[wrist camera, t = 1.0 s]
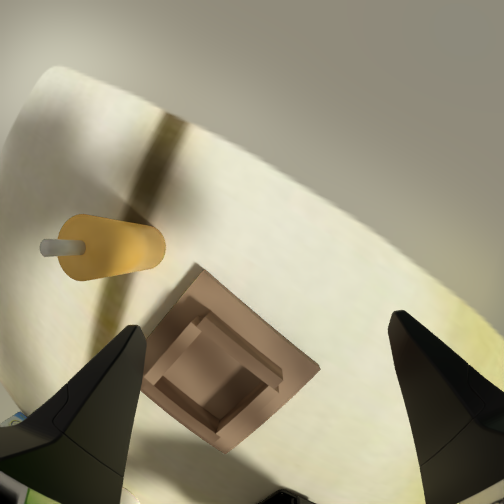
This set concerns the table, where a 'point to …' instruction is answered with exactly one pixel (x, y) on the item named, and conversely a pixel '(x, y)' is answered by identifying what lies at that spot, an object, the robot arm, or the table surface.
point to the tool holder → (221, 365)
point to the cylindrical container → (128, 497)
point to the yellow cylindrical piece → (104, 247)
